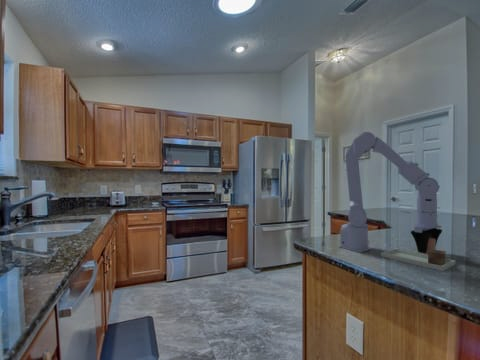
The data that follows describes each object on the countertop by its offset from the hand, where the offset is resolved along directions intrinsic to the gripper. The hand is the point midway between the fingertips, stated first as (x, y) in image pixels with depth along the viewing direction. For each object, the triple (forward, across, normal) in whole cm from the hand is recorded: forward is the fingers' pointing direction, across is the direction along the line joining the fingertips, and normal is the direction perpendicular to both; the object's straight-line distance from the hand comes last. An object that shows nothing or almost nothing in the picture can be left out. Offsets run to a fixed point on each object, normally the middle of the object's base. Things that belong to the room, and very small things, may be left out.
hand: (426, 250), depth 90 cm
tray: (+2, -11, -1) cm, 11 cm away
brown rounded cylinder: (+2, 0, 0) cm, 2 cm away
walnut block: (+1, -11, -6) cm, 13 cm away
